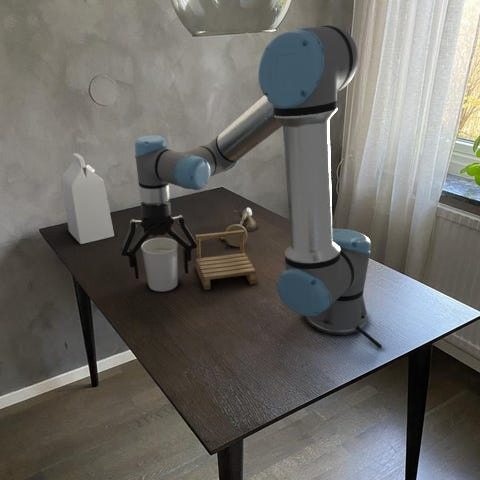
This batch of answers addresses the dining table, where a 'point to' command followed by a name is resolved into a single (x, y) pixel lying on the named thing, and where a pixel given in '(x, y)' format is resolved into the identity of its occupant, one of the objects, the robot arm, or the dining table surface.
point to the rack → (223, 261)
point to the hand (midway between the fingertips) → (161, 273)
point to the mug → (236, 239)
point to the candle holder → (161, 263)
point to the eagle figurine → (247, 219)
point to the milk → (86, 203)
